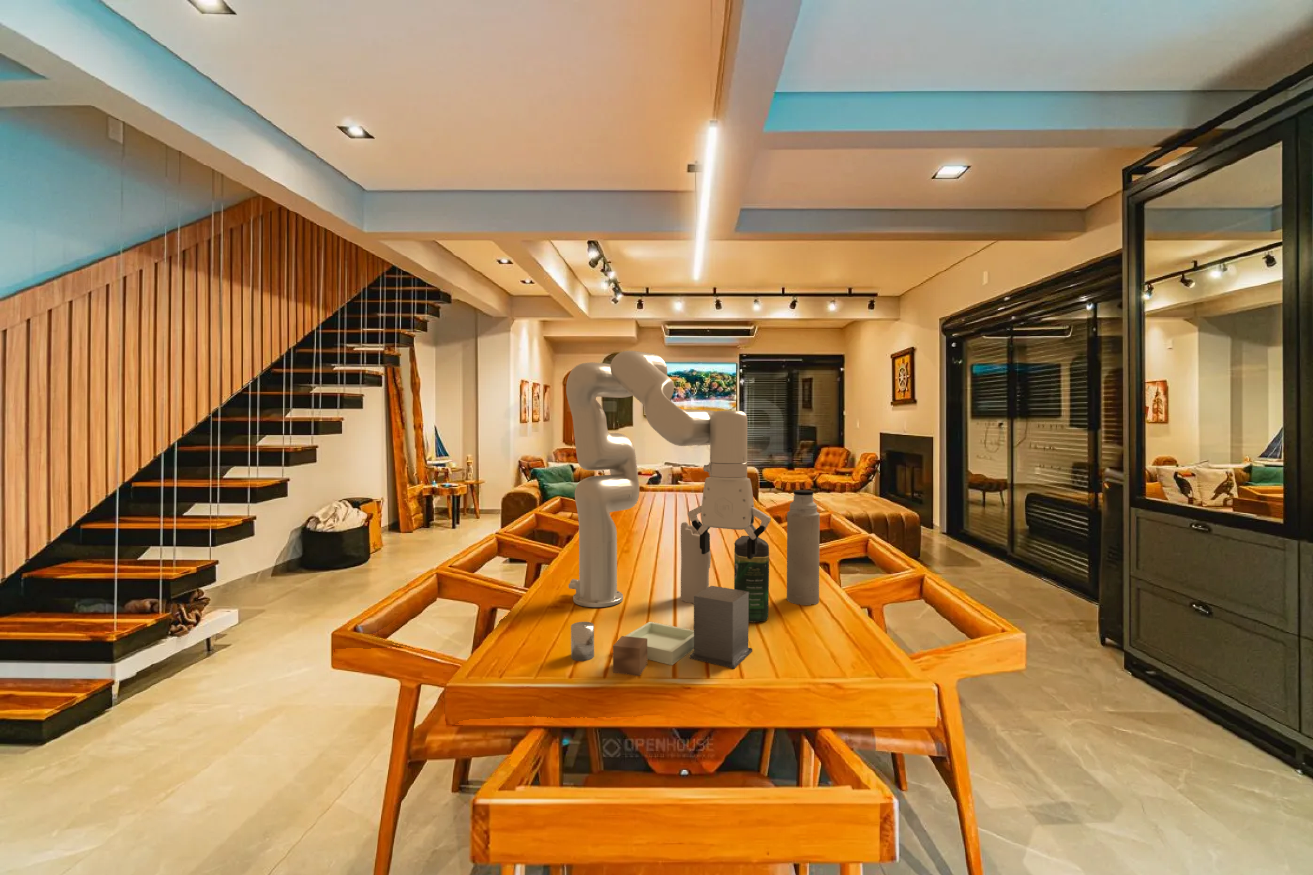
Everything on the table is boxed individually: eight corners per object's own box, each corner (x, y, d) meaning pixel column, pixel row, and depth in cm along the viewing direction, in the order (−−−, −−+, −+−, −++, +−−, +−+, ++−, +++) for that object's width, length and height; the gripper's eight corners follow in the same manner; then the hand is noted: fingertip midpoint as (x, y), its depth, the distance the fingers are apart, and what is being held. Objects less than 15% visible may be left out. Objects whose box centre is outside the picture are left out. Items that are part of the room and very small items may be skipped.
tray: (618, 652, 114) (618, 639, 113) (649, 633, 124) (649, 621, 124) (672, 665, 108) (672, 651, 107) (700, 643, 118) (700, 631, 118)
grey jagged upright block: (732, 607, 141) (732, 525, 141) (677, 602, 145) (677, 522, 145) (736, 598, 148) (737, 520, 148) (684, 593, 152) (684, 518, 152)
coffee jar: (771, 623, 130) (772, 541, 129) (736, 623, 130) (736, 541, 129) (765, 609, 139) (765, 533, 139) (732, 609, 140) (732, 533, 139)
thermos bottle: (792, 593, 152) (793, 487, 151) (823, 598, 148) (823, 489, 147) (782, 601, 145) (782, 491, 145) (813, 607, 141) (814, 493, 140)
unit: (689, 658, 111) (689, 596, 110) (709, 642, 119) (709, 584, 118) (734, 668, 106) (734, 603, 106) (752, 651, 114) (752, 591, 114)
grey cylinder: (566, 658, 111) (566, 627, 111) (580, 650, 115) (580, 620, 115) (584, 662, 109) (584, 631, 109) (598, 654, 113) (598, 624, 112)
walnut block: (613, 673, 104) (613, 645, 104) (622, 662, 109) (621, 635, 109) (639, 676, 103) (639, 648, 103) (647, 664, 108) (647, 638, 108)
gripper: (681, 471, 117) (681, 554, 118) (765, 474, 110) (765, 564, 111) (695, 468, 124) (694, 547, 125) (775, 471, 117) (774, 555, 117)
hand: (727, 555), depth 118 cm, fingers open, 9 cm apart
